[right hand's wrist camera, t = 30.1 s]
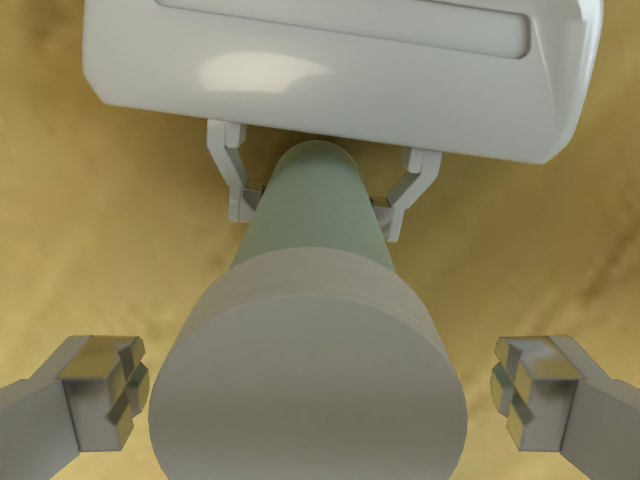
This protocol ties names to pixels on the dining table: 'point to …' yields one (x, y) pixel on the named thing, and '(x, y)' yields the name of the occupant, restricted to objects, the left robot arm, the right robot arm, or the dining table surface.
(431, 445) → the lid
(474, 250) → the dining table surface
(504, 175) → the dining table surface
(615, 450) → the right robot arm
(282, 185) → the green tall cylinder
